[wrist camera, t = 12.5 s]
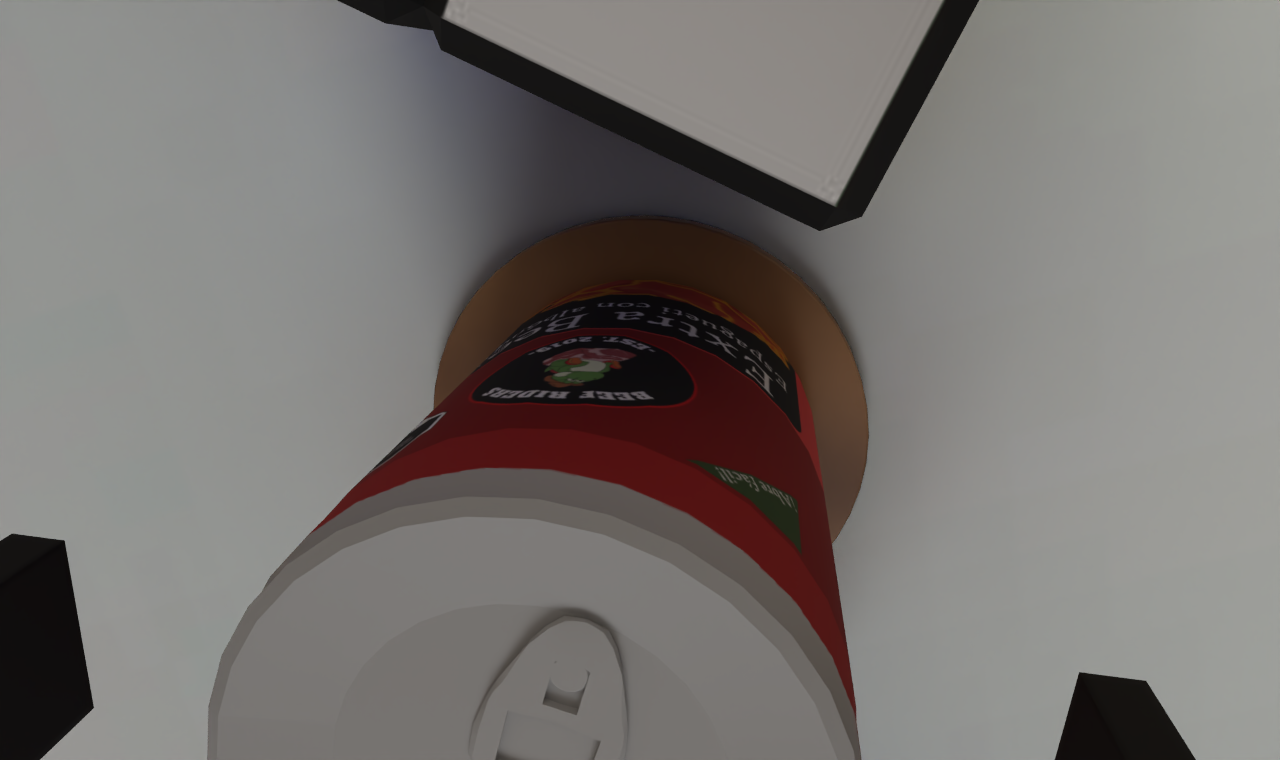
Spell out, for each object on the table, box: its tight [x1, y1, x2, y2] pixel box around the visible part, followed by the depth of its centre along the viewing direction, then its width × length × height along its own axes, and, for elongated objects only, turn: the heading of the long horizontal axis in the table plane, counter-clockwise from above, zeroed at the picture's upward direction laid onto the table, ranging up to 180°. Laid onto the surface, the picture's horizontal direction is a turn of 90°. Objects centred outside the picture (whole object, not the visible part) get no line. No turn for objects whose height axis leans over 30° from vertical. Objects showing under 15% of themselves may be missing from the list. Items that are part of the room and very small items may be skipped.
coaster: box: [434, 216, 869, 543], centre depth 21 cm, size 10×10×1 cm
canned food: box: [207, 280, 861, 760], centre depth 15 cm, size 8×8×11 cm
